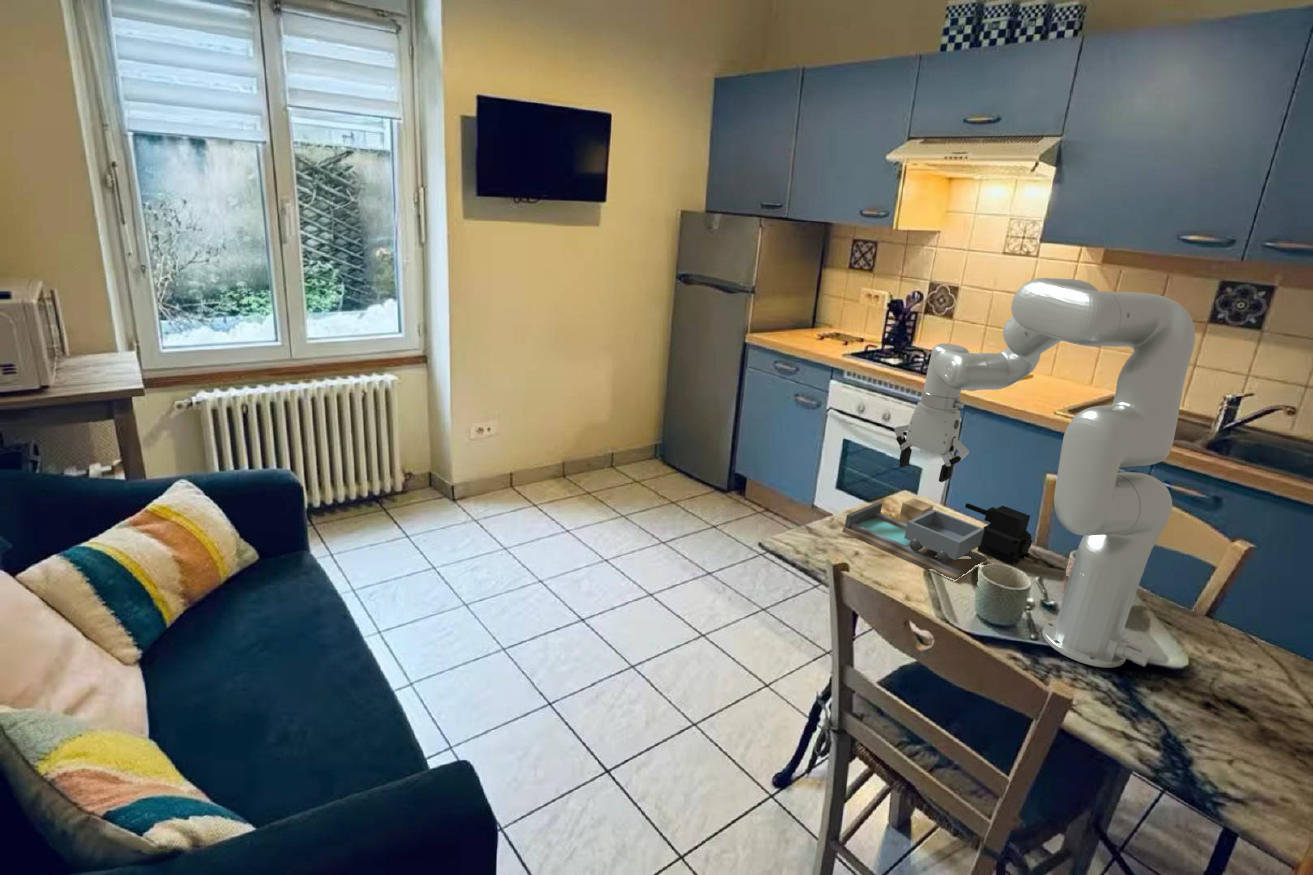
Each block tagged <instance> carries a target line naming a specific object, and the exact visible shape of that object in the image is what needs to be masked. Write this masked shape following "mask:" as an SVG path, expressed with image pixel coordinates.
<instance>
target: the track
mask: <svg viewBox="0 0 1313 875" xmlns="http://www.w3.org/2000/svg"><path fill="white" fill-rule="evenodd" d="M882 508H883V502H880V501H876V502H874V503H872V504H870V505H868V506H864V507H862V508H860V509H857V510H855V511H853V512H850V513H848V514H846V517H845V522H844V527H843V528H842V533H845V534H847V535H849V536H851V537H853V538H855V539H858V540H860V541H862V542H865V543H867V544H869V545H871V546H873V547H875V548H878V549H880V550H882V551H885V552H887V553H888V554H891V555H893V556H896V557H898V558H900V559H902V560H904V561H906V562H908V563H911V564H914V565H915V566H917V567H920V568H922V569H924V570H926V571H928V570H927V569H934V570H936V571H937V572H939V573H940V574H943V575H944V576H946V577H949V578H952V579H954V580H956V579H958V578H959V577H961V576H962V575H963V574H966V573H967V572H968V571H969V570H971V569H972V568H973V567H974V566H975V565H978V564H980V563H981V562H985V561H986V562H987V560H988V558H987V557H986V556H985V555H984V554H981V553H978V552H975V551H973V550H972V551H970V552H968V553H967V554H965V555H963V556H969V557H971V559H956V560H954V559H952V558H951V559H950V560H949V561H947V562H946V563H941V562H940V561H939V560H938V559H937V557H935V556H937V553H938V552H936V551H933V550H931V549H929V548H926V547H924V546H923V548H922V549H920V550H918V551H914V550H912V549H911V548H910V545H909V544H910V540H908V539H905V538H904V537H905V532H906V527H907V524H905V523H902V522H900V521H899V519H895V518H892V517H890V516H888V515H885V514H883V513H881V512H882Z"/></svg>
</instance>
